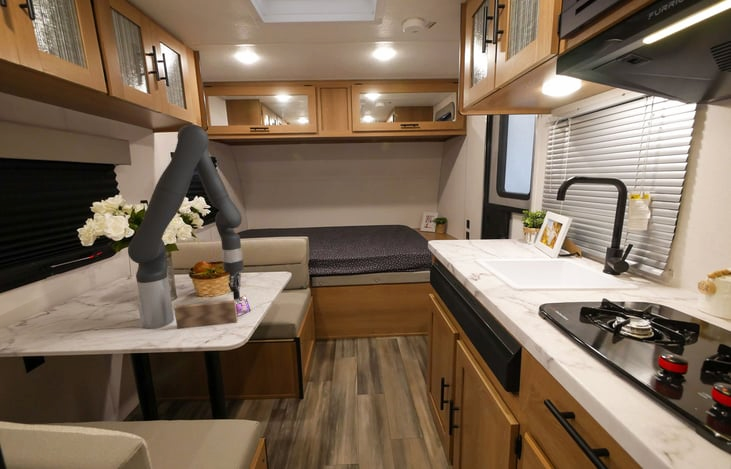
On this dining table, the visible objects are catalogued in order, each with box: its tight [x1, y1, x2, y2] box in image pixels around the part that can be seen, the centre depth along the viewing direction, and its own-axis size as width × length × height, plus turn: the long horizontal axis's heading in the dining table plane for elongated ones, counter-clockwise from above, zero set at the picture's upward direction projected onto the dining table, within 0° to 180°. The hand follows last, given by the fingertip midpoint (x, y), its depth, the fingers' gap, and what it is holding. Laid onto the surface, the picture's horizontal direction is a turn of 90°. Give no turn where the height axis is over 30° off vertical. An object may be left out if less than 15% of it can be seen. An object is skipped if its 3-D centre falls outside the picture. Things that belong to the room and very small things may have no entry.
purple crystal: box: [235, 294, 252, 318], centre depth 122 cm, size 7×5×9 cm
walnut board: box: [173, 299, 239, 330], centre depth 113 cm, size 20×2×8 cm, turn 102°
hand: (237, 299), depth 130 cm, fingers closed
